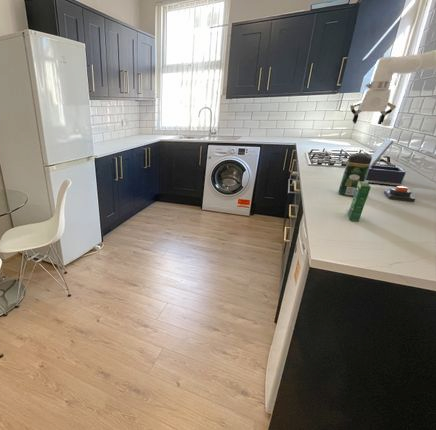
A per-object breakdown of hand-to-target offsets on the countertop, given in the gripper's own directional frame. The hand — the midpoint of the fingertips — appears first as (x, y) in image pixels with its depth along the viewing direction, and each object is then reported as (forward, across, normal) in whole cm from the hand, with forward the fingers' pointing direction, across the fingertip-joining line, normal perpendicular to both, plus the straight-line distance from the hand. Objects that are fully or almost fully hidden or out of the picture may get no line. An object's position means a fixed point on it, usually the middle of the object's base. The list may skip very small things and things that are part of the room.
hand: (366, 123), depth 140 cm
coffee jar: (+29, -4, -32) cm, 43 cm away
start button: (+26, +14, -27) cm, 40 cm away
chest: (+29, +13, 0) cm, 32 cm away
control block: (+29, +14, -27) cm, 42 cm away
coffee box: (+29, -7, -65) cm, 72 cm away
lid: (+14, +9, 0) cm, 17 cm away
